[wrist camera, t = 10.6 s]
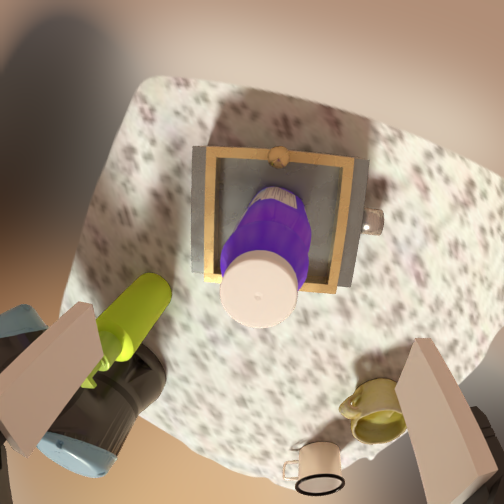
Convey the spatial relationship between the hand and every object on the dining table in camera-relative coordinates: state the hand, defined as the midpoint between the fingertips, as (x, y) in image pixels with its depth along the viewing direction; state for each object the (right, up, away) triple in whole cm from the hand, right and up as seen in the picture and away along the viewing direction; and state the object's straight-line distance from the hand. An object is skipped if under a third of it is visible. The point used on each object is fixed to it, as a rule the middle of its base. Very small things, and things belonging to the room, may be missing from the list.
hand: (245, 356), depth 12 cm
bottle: (+2, +8, +21) cm, 22 cm away
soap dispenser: (-14, -1, +32) cm, 35 cm away
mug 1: (+13, -37, +42) cm, 57 cm away
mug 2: (+20, -19, +35) cm, 44 cm away
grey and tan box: (+5, +9, +26) cm, 28 cm away
